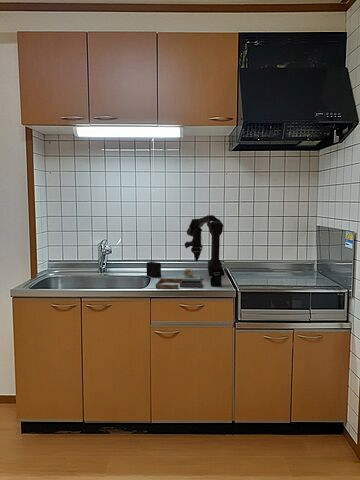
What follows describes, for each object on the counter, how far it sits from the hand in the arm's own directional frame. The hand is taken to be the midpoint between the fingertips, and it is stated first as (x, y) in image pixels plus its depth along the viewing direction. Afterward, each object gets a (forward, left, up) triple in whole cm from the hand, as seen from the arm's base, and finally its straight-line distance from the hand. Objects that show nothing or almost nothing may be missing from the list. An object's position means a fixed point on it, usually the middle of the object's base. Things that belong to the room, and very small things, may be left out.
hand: (197, 260), depth 274 cm
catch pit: (+1, +25, -12) cm, 28 cm away
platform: (+5, +8, -12) cm, 15 cm away
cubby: (+15, +25, -12) cm, 32 cm away
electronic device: (+30, 0, -12) cm, 32 cm away
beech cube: (+5, +8, -10) cm, 14 cm away
